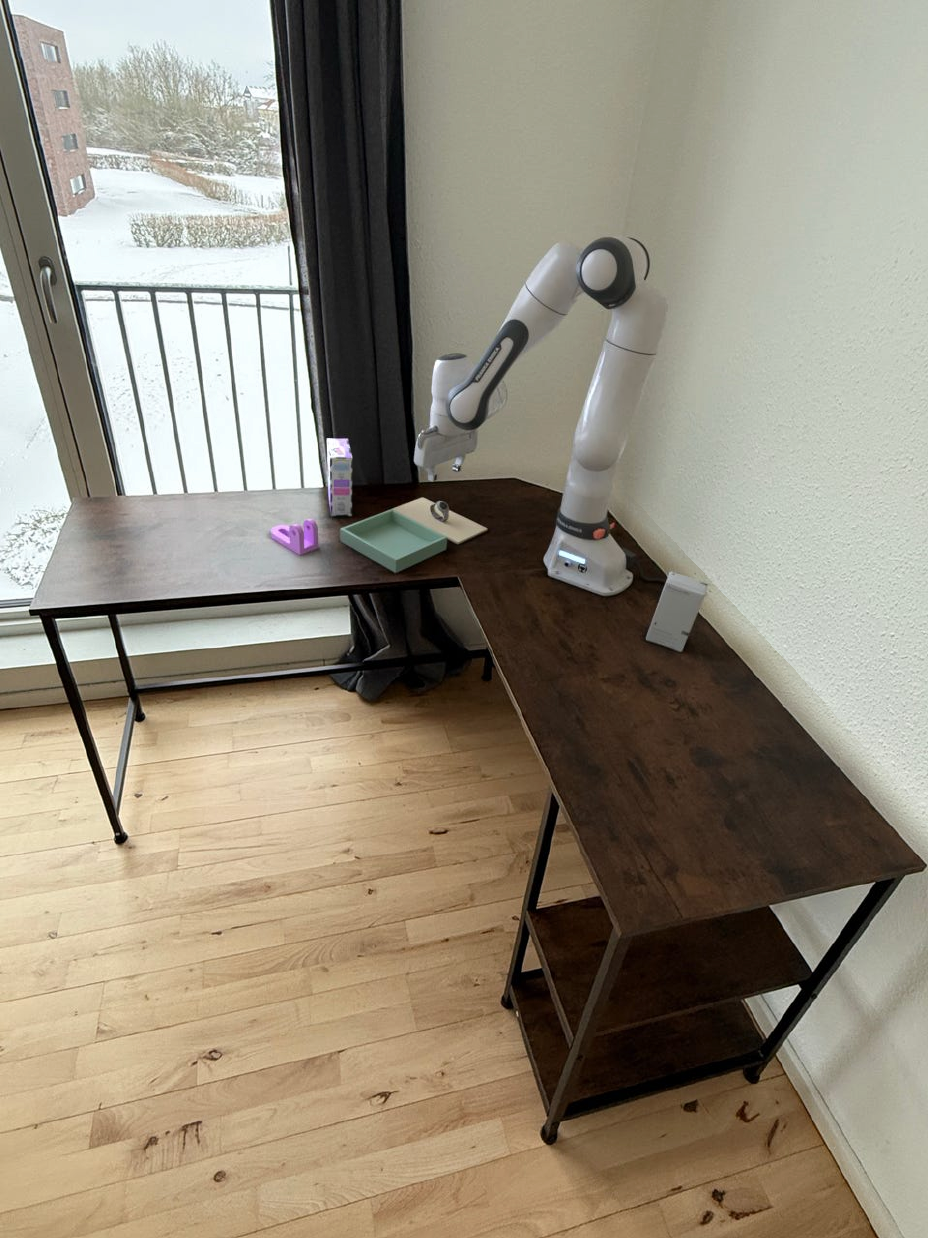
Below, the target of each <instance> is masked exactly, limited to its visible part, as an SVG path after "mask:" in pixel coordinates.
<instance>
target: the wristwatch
mask: <svg viewBox="0 0 928 1238" xmlns="http://www.w3.org/2000/svg"><path fill="white" fill-rule="evenodd" d="M436 504H437V508H438V510H439V511H441V512H442V514H443V516H444V519H443V517H441V516H440V515H439V514H438V513H437V512H436V511H435V505H436ZM449 510H450V508H449V504H447V502H445V501H444V500H438V501H436V502H434V504H432V505H431V506H430V511H431V513H432V516H433V517H434V518H435V519H437V520H439V521H440V522H444V521H446V520H448V517H449Z"/></svg>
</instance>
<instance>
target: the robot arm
mask: <svg viewBox="0 0 928 1238" xmlns="http://www.w3.org/2000/svg"><path fill="white" fill-rule="evenodd" d="M650 258H651V257H650V254H649V252H648V249H647V247H646V246H645V245H644V244H643V243H642V242H641V241H639V240H638V239H636V238H634V237H629V236H624V235H620V234H619V235H610V236H604V237H600V238H597V239H595V240H594V241H592V242H591V243H590V244H588V245H587V246H586V247H585V248H584V249H583V248H582V247H580V246H579V245H578V244H576V243H573V242H570V241H559V242H557V243H555V244H554V245H553V246H552V247H551V248H549V250H548V251H547V252H546V253H545V254H544V256H542V258H541V259H540V260H539V262H538V263H537V264H536V266H535V267H534V269H532V271H531V273H530V274H529V275H528V278H527V279H526V281H525V282H524V284H523V285H522V287H521V289H520V291H519V293H518V295H517V296H516V298H515V300H514V301H513V304H512V306H511V307H510V310H509V312H508V313H507V316H506V317H505V319H504V321H503V322H502V325H500V328H499V330H498V332H497V334H496V336H495V337H494V338H493V340H492V342H491V343H490V345H489V346H488V348H487V349H486V350H485V352H484V354H483V355H482V357H481V358H480V360H479V361H478V363H477V364H475V362H473V361H472V360H471V358H470V357H469V356H468V355H467V354H465V353H460V352H459V353H456V352H455V353H449V354H444V355H441V356H440V357H438V358H437V359H436V360H435V362H434V366H433V372H432V379H431V396H432V403H431V406H430V418H429V428H425V429H423V430H421V432H420V433H419V434H418V436H417V439H416V443H415V446H414V447H415V448H414V455H413V462H414V464H415V466H417V467H419V468H421V469H423V470H425V471H426V473H427V480H428V481H429V482H430V483H431V482H432V483H433V482H435V481H437V480H438V474H437V473H436V472H435V471H434V470H435V469H436V466H437V465H440V464H444V463H445V462H449V461H451V460H455V462H454V463H452V471H453V472H455V473H458V472H462V465H463V463H464V461H465V460H466V455H469V454H471V453H474V452H475V451H476V449H477V446H478V440H479V439H478V438H479V428H480V427H481V426H482V425H483V424H484V423H485V422H486V421H487V420H489V419H490V418H492V417H494V415H496V414H497V413H498V412H500V411H501V410H502V409H503V408H504V407H505V405H506V404H507V400H508V390H507V386H506V384H505V382H504V381H503V380H504V378H505V377H506V376H507V374H508V373H509V371H511V369H512V367H513V366H514V365H515V363H516V362H517V361H519V360H520V358H522V357H523V356H524V355H525V354H527V353H528V352H529V351H531V350H533V349H534V348H536V347H537V346H539V345H541V344H542V343H543V342H545V341H546V340H547V339H548V338H549V337H550V336H551V335H553V333H554V332H555V331H556V330H557V329H558V328H559V327H560V326H561V325H562V323H563V322H564V320H565V319H566V318H567V316H568V315H569V313H570V312H571V311H572V309H573V307H574V306H575V305H576V303H577V302H578V300H579V299H580V298H581V297H582V296H583V295H584V294H586V295H587V296H588V297H590V298H591V299H593V300H594V301H596V302H597V303H598V304H599V305H600V306H602V307H603V308H605V309H606V310H611V318H610V322H609V326H608V329H607V332H606V334H605V337H604V341H603V344H602V347H601V350H600V354H599V357H598V360H597V363H596V365H595V369H594V372H593V375H592V378H591V382H590V384H589V387H588V391H587V394H586V397H585V400H584V403H583V406H582V410H581V412H580V416H579V418H578V421H577V425H576V428H575V431H574V435H573V438H572V449H571V456H570V460H569V465H568V468H567V473H566V478H565V482H564V487H563V493H562V498H561V503H560V506H559V507H558V509H557V513H556V518H555V523H554V524H555V529H554V533H553V535H552V538H551V541H550V544H549V546H548V549H547V551H546V552H545V554H544V556H543V559H542V560H543V563H544V565H545V567H546V568H547V576H549V577H550V578H553V579H556V580H559V581H561V582H564V583H567V584H569V585H572V586H575V587H577V588H580V589H582V590H586V591H588V592H592V593H593V594H597V595H599V596H602V597H609V596H614V595H618V594H619V593H622V592H623V591H625V590H626V589H627V588H629V587H630V586H631V584H632V583H633V581H634V580H633V578H634V574H633V573H632V571H629V570H628V569H629V568H632V567H634V566H635V567H636V568H637V572H638V574H639V577H640V578H641V579H642V580H643V581H646V582H649V583H652V582H658V583H662V584H664V585H665V583H666V581H667V579H664V578H659V577H647V576H645V575H644V573H643V569H642V567H641V565H640V564H639V562H638V561H637V556H638V555H637V554H636V553H635V552H633V551H631V550H629V549H627V548H625V547H621V546H620V545H619V544H618V542H617V541H616V540H615V539H614V537H613V536H612V535H611V533H610V532H611V530H612V529H613V528H614V527H615V524H616V522H612V523H611V524H610V523H609V519H608V511H609V507H610V504H611V503H610V502H611V498H612V494H613V492H614V491H613V490H614V486H615V481H616V477H617V472H618V467H619V463H620V458H621V456H622V454H623V452H624V450H625V447H626V444H627V441H628V438H629V435H630V432H631V429H632V427H633V424H634V420H635V418H636V415H637V411H638V408H639V406H640V402H641V400H642V396H643V393H644V390H645V387H646V386H647V385H646V384H647V381H648V380H649V377H650V374H651V371H652V368H653V366H654V363H655V360H656V357H657V354H658V352H659V349H660V346H661V343H662V340H663V336H664V334H665V329H666V325H667V320H668V316H669V315H668V314H669V308H670V305H669V303H670V302H669V300H668V298H667V296H666V294H665V293H663V291H661V290H660V289H659V288H656V287H654V286H652V285H649V284H647V282H646V280H647V278H648V276H649V272H650V268H651V259H650Z"/></svg>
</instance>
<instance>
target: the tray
mask: <svg viewBox="0 0 928 1238" xmlns="http://www.w3.org/2000/svg"><path fill="white" fill-rule="evenodd" d="M339 537H340V539H339V541H340V542H341V543H342V544H345V545H346V546H348V547H349V548H351V549H353V550H355V551H356V552H358V553H360V554H362V555H363V556H365V557H367V558H368V559H370V560H372V561H374V562H375V563H377V564H379V565H381V566H383V567H384V568H386V569H388V570H390V571H391V572H393V573H394V574H397V573H399V572H401V571H403V570H405V569H407V568H410V567H413V566H414V565H416V564H418V563H421V562H423V561H424V560H427V559H429V558H431V557H434V556H436V555H437V554H440V553H442V552H443V551H446V550H447V545H448V539H447V537H446V536H444V535H442V534H440V533H438V532H436V531H434V530H432V529H430V528H428V527H426V526H424V525H422V524H420V523H418V522H417V521H415V520H413V519H411V518H409V517H407V516H405V515H403V514H401V513H399V512H397V511H395V510H393V508H391V509H388V510H386V511H383V512H380V513H378V514H375V515H372V516H370V517H367V518H364V519H362V520H359V521H357V522H354V523H351V524H348V525H346V526H343V527H341V528H340V530H339Z"/></svg>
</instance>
